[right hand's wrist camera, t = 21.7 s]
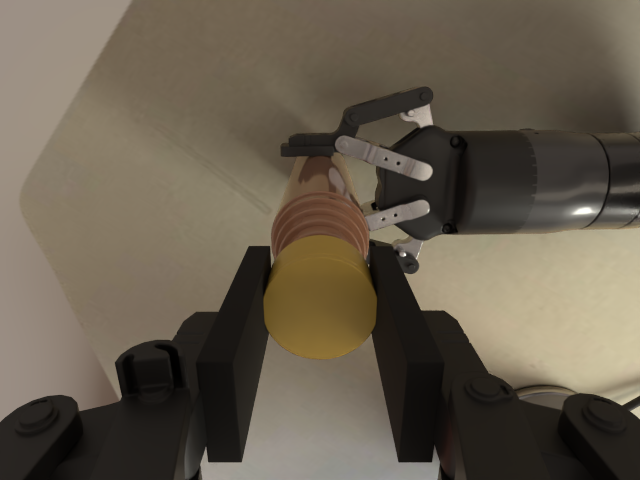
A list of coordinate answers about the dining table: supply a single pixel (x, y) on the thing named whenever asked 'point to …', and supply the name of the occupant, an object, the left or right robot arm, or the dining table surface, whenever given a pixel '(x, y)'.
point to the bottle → (320, 205)
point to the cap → (320, 298)
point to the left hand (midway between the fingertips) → (284, 186)
